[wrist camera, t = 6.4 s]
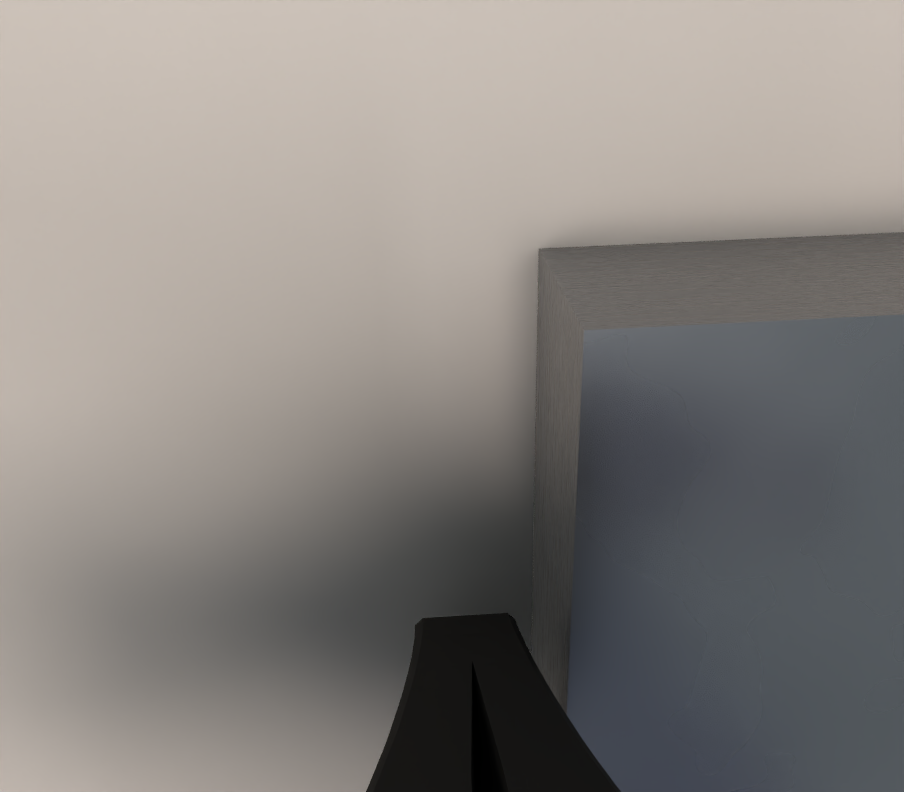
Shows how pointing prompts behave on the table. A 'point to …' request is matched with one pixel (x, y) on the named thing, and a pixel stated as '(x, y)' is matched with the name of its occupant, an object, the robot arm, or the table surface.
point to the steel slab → (724, 510)
